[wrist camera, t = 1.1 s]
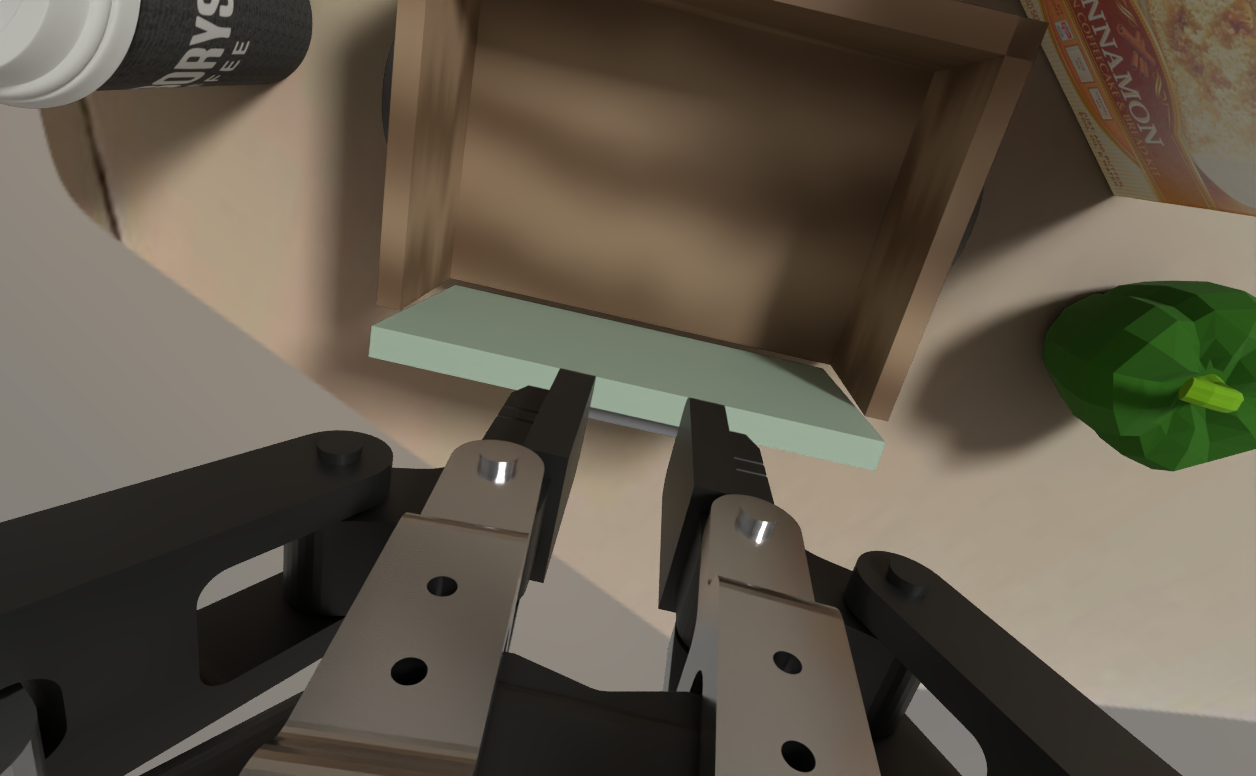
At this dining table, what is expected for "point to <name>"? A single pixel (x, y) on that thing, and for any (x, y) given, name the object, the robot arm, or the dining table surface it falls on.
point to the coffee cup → (144, 45)
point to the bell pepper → (1160, 370)
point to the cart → (702, 162)
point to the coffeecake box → (1162, 94)
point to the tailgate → (629, 371)
